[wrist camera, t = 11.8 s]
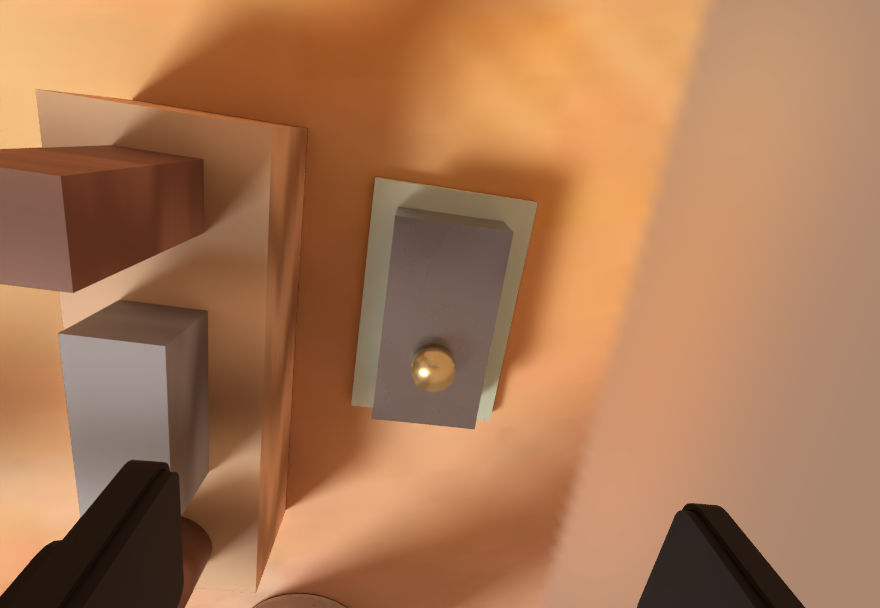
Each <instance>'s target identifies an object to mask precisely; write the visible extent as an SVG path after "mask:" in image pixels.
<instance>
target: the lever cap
mask: <svg viewBox="0 0 880 608" xmlns="http://www.w3.org/2000/svg"><path fill="white" fill-rule="evenodd" d="M513 233H514V232H513V231H512V230H511V229H510V228H509V227H508V226H507V224H506V223H505V222H504V221H498V220H491V219H484V218H477V217H470V216H463V215H455V214H448V213H441V212H434V211H427V210H420V209H413V208H406V207H399V206H398V208H397V211H396V214H395V221H394V229H393V238H392V247H391V255H390V264H389V273H388V282H387V290H386V299H385V308H384V317H383V325H382V334H381V343H380V352H379V360H378V369H377V378H376V387H375V395H374V404H373V413H372V419H381V420H390V421H400V422H410V423H419V424H429V425H439V426H448V427H458V428H468V429H475V424H476V419H477V414H478V409H479V404H480V399H481V394H482V389H483V384H484V379H485V374H486V368H487V363H488V358H489V353H490V348H491V343H492V338H493V333H494V328H495V323H496V318H497V313H498V308H499V303H500V298H501V293H502V288H503V283H504V278H505V273H506V268H507V263H508V258H509V253H510V248H511V243H512V238H513Z"/></svg>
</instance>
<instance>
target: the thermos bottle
mask: <svg viewBox="0 0 880 608" xmlns="http://www.w3.org/2000/svg"><path fill="white" fill-rule="evenodd" d="M254 608H346V607H345V606H343V605H341V604H339V603H337V602H336V601H333V600H330V599H328V598H325V597H321V596H316V595H311V594H288V595H282V596H278V597H273V598H270V599H268V600H266V601H263V602H261V603H260V604H258V605H257V606H255V607H254Z"/></svg>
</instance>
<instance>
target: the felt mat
mask: <svg viewBox="0 0 880 608" xmlns="http://www.w3.org/2000/svg"><path fill="white" fill-rule="evenodd" d="M537 205H538V203H537V202H535V201H530V200H523V199H517V198H510V197H504V196H497V195H491V194H484V193H478V192H471V191H465V190H458V189H452V188H445V187H439V186H433V185H426V184H420V183H413V182H407V181H400V180H394V179H387V178H381V177H376V178H375V183H374V193H373V202H372V211H371V221H370V230H369V240H368V249H367V259H366V268H365V278H364V287H363V296H362V306H361V315H360V325H359V334H358V344H357V353H356V362H355V372H354V381H353V391H352V400H351V406H360V407H369V408H373V404H374V395H375V387H376V378H377V369H378V360H379V352H380V343H381V334H382V325H383V317H384V308H385V299H386V290H387V282H388V273H389V264H390V255H391V247H392V238H393V229H394V221H395V214H396V211H397V208H398V206H399V207H406V208H413V209H420V210H427V211H434V212H441V213H448V214H455V215H463V216H470V217H477V218H484V219H491V220H498V221H504V222H505V223H506V224H507V226H508V227H509V228H510V229H511V230H512V231H513V232H514V233H513V238H512V243H511V248H510V253H509V258H508V263H507V268H506V273H505V278H504V283H503V288H502V293H501V298H500V303H499V308H498V313H497V318H496V323H495V328H494V333H493V338H492V343H491V348H490V353H489V358H488V363H487V368H486V374H485V379H484V384H483V389H482V394H481V399H480V404H479V409H478V414H477V419H476V420H484V421H490V418H491V414H492V409H493V405H494V400H495V396H496V391H497V387H498V382H499V378H500V373H501V368H502V364H503V359H504V355H505V350H506V346H507V341H508V337H509V332H510V328H511V323H512V318H513V314H514V309H515V305H516V300H517V296H518V291H519V287H520V282H521V278H522V273H523V268H524V264H525V259H526V255H527V250H528V246H529V241H530V237H531V232H532V228H533V223H534V218H535V214H536V209H537Z"/></svg>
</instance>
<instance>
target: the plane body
mask: <svg viewBox="0 0 880 608" xmlns="http://www.w3.org/2000/svg"><path fill="white" fill-rule="evenodd" d="M36 98H37V107H38V115H39V124H40V132H41V141H42V148H21V149H0V284H5V285H13V286H20V287H28V288H36V289H44V290H52V291H59V295H60V303H61V312H62V320H63V329H64V330H63V331H62V332H60V333H58V337H59V345H60V354H61V362H62V370H63V378H64V386H65V395H66V403H67V411H68V419H69V428H70V436H71V444H72V452H73V461H74V469H75V477H76V485H77V493H78V502H79V510H80V518H81V517H82V516H83V514H84V513H85V512H86V511H87V509H88V508H89V507H90V506H91V505H92V503H93V502H94V501H95V500H96V498H97V497H98V496H99V495H100V494H101V492H102V491H103V490H104V489H105V488H106V486H107V485H108V484H109V483H110V481H111V480H112V479H113V478H114V477H115V475H116V474H117V473H118V472H119V471H120V469H121V468H122V467H123V466H124V465H125V464H126V463H127V462H128V461H130V460H144V461H156V462H166V463H168V465H169V468H170V472H177V473H178V474H179V483H180V506H181V528H182V550H183V573H184V586H183V592H182V596H181V599H180V602H179V605H178V607H177V608H185V606H186V604H187V602H188V600H189V598H190V596H191V594H192V592H193V590H194V589H205V590H218V591H231V592H244V593H256V591H257V588H258V586H259V583H260V580H261V577H262V574H263V572H264V569H265V566H266V563H267V561H268V558H269V555H270V552H271V549H272V547H273V544H274V541H275V538H276V536H277V533H278V530H279V527H280V524H281V522H282V519H283V516H284V513H285V508H286V491H287V474H288V457H289V440H290V423H291V406H292V388H293V371H294V354H295V337H296V320H297V303H298V286H299V269H300V251H301V234H302V217H303V200H304V183H305V166H306V149H307V132H308V128H301V127H295V126H289V125H283V124H277V123H270V122H264V121H258V120H252V119H246V118H239V117H233V116H227V115H221V114H215V113H208V112H202V111H196V110H190V109H184V108H177V107H171V106H165V105H159V104H153V103H147V102H140V101H134V100H127V99H118V98H109V97H101V96H92V95H83V94H75V93H66V92H57V91H49V90H40V89H36Z"/></svg>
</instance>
